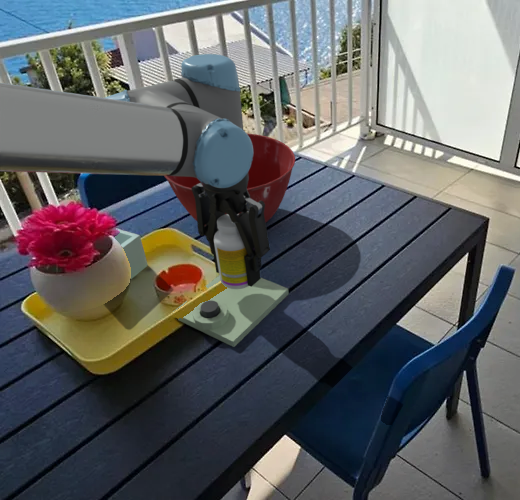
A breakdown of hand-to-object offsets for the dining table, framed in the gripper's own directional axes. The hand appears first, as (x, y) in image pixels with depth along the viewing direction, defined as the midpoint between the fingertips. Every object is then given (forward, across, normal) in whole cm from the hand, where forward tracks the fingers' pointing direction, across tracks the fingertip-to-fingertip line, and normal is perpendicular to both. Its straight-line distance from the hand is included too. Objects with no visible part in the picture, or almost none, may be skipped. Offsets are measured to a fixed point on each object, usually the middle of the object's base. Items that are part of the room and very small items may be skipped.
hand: (238, 275), depth 91 cm
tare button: (+3, 0, +8) cm, 9 cm away
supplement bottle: (+1, 0, 0) cm, 1 cm away
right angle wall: (+6, +28, +9) cm, 30 cm away
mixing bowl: (+6, +19, -22) cm, 29 cm away
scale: (+6, 0, +2) cm, 6 cm away
